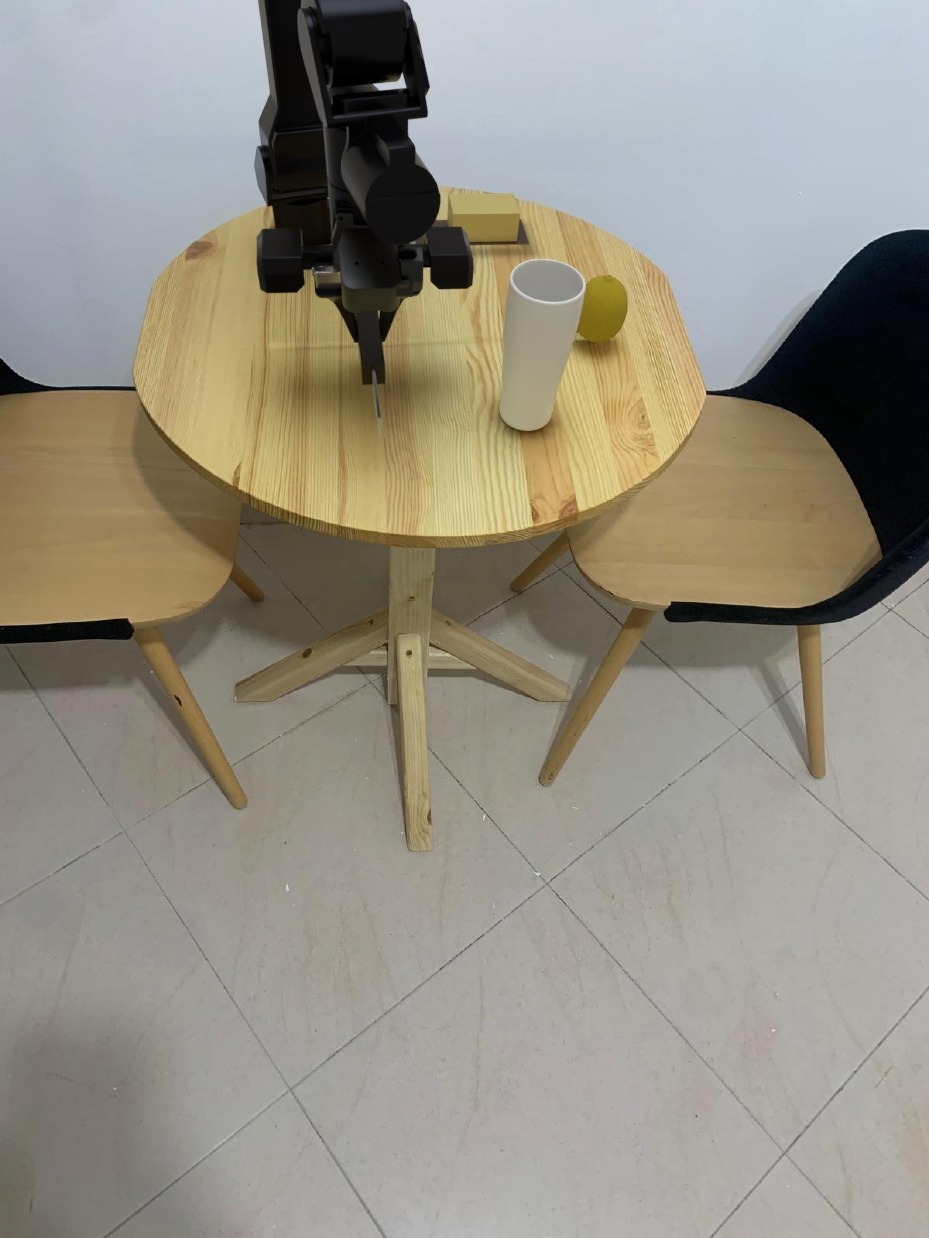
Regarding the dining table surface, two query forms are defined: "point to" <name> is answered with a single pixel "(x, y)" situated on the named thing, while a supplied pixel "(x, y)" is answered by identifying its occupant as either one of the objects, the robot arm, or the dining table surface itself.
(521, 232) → the board
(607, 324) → the lemon
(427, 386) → the dining table surface
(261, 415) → the dining table surface
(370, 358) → the knife
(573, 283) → the drinking glass
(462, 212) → the butter stick
